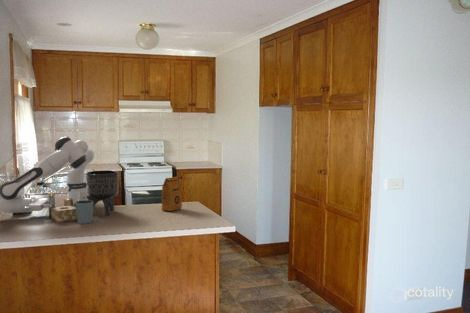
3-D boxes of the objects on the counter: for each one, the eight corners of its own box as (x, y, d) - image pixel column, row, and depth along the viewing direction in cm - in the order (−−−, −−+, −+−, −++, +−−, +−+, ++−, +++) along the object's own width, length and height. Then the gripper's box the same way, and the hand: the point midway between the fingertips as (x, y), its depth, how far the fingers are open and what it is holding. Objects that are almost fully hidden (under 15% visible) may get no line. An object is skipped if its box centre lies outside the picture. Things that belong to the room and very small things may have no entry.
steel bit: (54, 216, 264) (53, 193, 262) (56, 217, 261) (55, 194, 260) (48, 217, 261) (47, 194, 260) (50, 218, 259) (49, 195, 257)
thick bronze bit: (71, 213, 271) (71, 198, 270) (75, 215, 267) (74, 199, 266) (62, 215, 267) (62, 199, 266) (66, 216, 263) (65, 200, 262)
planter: (102, 209, 285) (101, 169, 283) (125, 211, 277) (125, 171, 274) (80, 214, 268) (79, 173, 265) (104, 218, 259) (103, 175, 257)
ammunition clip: (13, 215, 265) (12, 196, 264) (12, 215, 267) (11, 196, 266) (31, 213, 272) (31, 194, 271) (30, 212, 273) (30, 194, 272)
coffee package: (184, 209, 285) (183, 176, 283) (170, 212, 275) (169, 178, 273) (173, 207, 291) (173, 175, 289) (159, 210, 281) (159, 177, 279)
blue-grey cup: (83, 224, 244) (82, 203, 243) (72, 222, 249) (71, 202, 248) (97, 221, 252) (97, 201, 251) (86, 218, 258) (85, 199, 256)
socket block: (69, 216, 263) (69, 205, 262) (77, 219, 255) (77, 208, 254) (51, 219, 255) (51, 208, 254) (58, 222, 247) (58, 211, 246)
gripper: (23, 203, 248) (48, 202, 250) (33, 196, 268) (56, 196, 270) (23, 213, 248) (49, 213, 251) (33, 206, 268) (57, 206, 271)
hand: (53, 204), depth 261 cm, fingers open, 7 cm apart
